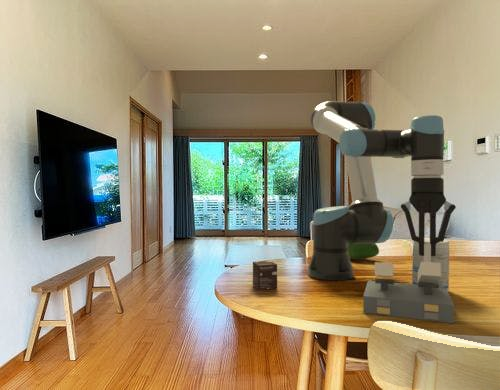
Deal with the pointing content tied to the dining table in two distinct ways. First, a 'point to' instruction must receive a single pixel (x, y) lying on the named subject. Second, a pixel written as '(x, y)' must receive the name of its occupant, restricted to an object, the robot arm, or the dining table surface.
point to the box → (264, 274)
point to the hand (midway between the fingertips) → (427, 268)
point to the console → (408, 300)
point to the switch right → (429, 272)
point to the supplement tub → (440, 257)
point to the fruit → (362, 251)
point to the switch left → (384, 269)
